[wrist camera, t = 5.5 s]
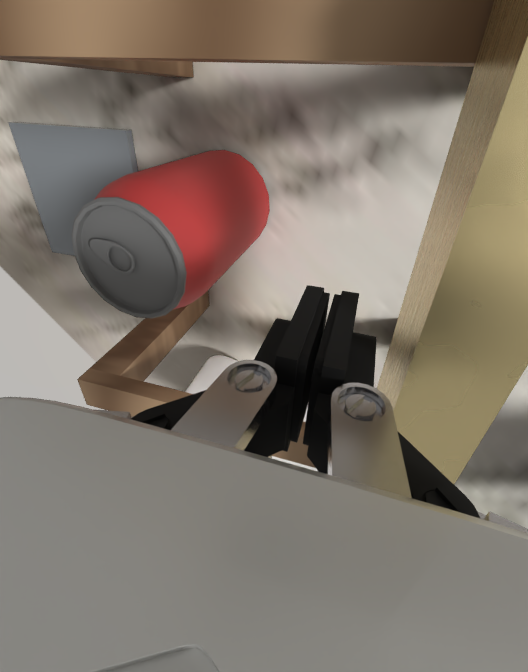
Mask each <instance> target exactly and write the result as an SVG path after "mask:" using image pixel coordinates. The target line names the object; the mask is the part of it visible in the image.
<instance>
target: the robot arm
mask: <svg viewBox="0 0 528 672" xmlns="http://www.w3.org/2000/svg"><path fill="white" fill-rule="evenodd" d="M329 295H330V293H324V288H321V287H315V286H308V285H307V287H306V289H305V292H304V294H303V296H302V298H301V300H300V302H299V305H298V307H297V309H296V311H295V313H294V316H293V318H292V320H291V321H288V320H283V319H278V318H277V319H276V320H275V321H274V323H273V325H272V327H271V329H270V331H269V333H268V335H267V337H266V338H265V340H264V342H263V344H262V346H261V348H260V350H259V352H258V354H257V355H256V357H255V359H254V360H243V361H238V362H235V363H233V364H231V365H230V366H228V367H227V368H226V369H225V370H224V371H223V372H222V373H221V374H220V375H219V377H218V378H217V379H216V380H215V381H214V382H213V383H212V384H211V385H210V387H209V388H208V389H207V390H204V391H201V392H198V393H195V394H192V395H189V396H186V397H183V398H180V399H177V400H174V401H171V402H168V403H165V404H162V405H159V406H156V407H152V408H149V409H146V410H144V411H142V412H140V413H138V414H136V415H135V416H131V414H130V412H124V411H107V410H92V409H88V408H84V407H80V406H75V405H71V404H66V403H61V402H57V401H50V400H43V399H36V398H21V397H3V398H0V672H528V529H527V528H525V527H522V526H520V525H518V524H516V523H514V522H512V521H509V520H507V519H505V518H503V517H501V516H499V515H497V514H494V513H492V512H490V511H489V513H488V514H487V515H484V514H482V513H480V512H478V511H477V510H476V509H475V507H474V505H473V504H472V503H471V502H470V500H469V499H468V498H467V497H466V496H465V495H464V494H463V493H462V492H461V491H460V490H459V489H458V488H457V487H456V486H455V485H454V484H453V483H452V482H451V481H450V480H449V479H447V478H446V477H445V476H444V475H443V474H442V473H441V472H440V471H439V470H438V469H437V468H436V467H435V466H434V465H433V464H432V463H431V462H430V461H429V460H428V459H427V458H425V457H424V456H423V455H422V454H421V453H420V452H419V451H418V450H417V449H416V448H415V447H414V446H413V445H412V444H411V443H410V442H409V441H408V440H407V439H406V438H405V437H404V436H402V435H401V434H400V433H399V432H398V431H397V427H396V422H395V417H394V413H393V408H392V405H391V403H390V400H389V399H388V398H387V397H386V396H385V394H384V393H382V392H381V391H379V390H378V389H377V388H374V387H373V386H374V370H375V354H376V337H375V336H370V335H364V334H359V333H353V327H354V322H355V316H356V310H357V304H358V298H359V293H352V292H346V291H342V294H341V295H337V294H335V295H334V298H333V302H332V305H331V309H330V312H329V315H328V319H327V322H326V315H327V309H328V302H329ZM325 322H326V326H325ZM324 328H325V329H324ZM308 402H309V403H308ZM307 405H308V410H307V417H306V424H305V430H304V437H303V444H304V445H308V451H307V457H308V458H309V459H310V461H311V462H312V463H313V465H314V466H315V468H316V469H317V471H314V470H311V469H307V468H304V467H300V466H297V465H293V464H289V463H286V462H282V461H279V460H275V459H272V455H273V454H275V453H277V452H280V451H286V452H288V448H289V445H290V441H293V442H296V443H297V441H298V438H299V434H300V431H301V427H302V424H303V420H304V416H305V413H306V409H307Z"/></svg>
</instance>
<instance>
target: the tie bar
mask: <svg viewBox="0 0 528 672" xmlns="http://www.w3.org/2000/svg"><path fill="white" fill-rule="evenodd" d="M527 365H528V0H494V3H493V7H492V10H491V13H490V17H489V20H488V23H487V27H486V30H485V33H484V36H483V40H482V43H481V46H480V50H479V53H478V56H477V60H476V63H475V66H474V69H473V73H472V76H471V79H470V83H469V86H468V89H467V93H466V96H465V99H464V102H463V106H462V109H461V112H460V116H459V119H458V122H457V126H456V129H455V132H454V136H453V139H452V142H451V145H450V149H449V152H448V155H447V159H446V162H445V165H444V169H443V172H442V175H441V178H440V182H439V185H438V188H437V192H436V195H435V198H434V202H433V205H432V208H431V211H430V215H429V218H428V221H427V225H426V228H425V231H424V235H423V238H422V241H421V245H420V248H419V251H418V254H417V258H416V261H415V264H414V268H413V271H412V274H411V278H410V281H409V284H408V287H407V291H406V294H405V297H404V301H403V304H402V307H401V311H400V314H399V317H398V320H397V324H396V327H395V330H394V334H393V337H392V340H391V344H390V347H389V350H388V354H387V357H386V360H385V363H384V367H383V370H382V373H381V377H380V380H379V383H378V387H377V389H378V390H379V391H381V392H382V393H384V394H385V396H386V397H387V398H388V399H389V400H390V403H391V405H392V408H393V413H394V417H395V422H396V427H397V431H398V432H399V433H400V434H401V435H402V436H404V437H405V438H406V439H407V440H408V441H409V442H410V443H411V444H412V445H413V446H414V447H415V448H416V449H417V450H418V451H419V452H420V453H421V454H422V455H423V456H424V457H425V458H427V459H428V460H429V461H430V462H431V463H432V464H433V465H434V466H435V467H436V468H437V469H438V470H439V471H440V472H441V473H442V474H443V475H444V476H445V477H446V478H447V479H449V480H450V481H451V482H452V483H453V484H455V482H456V481H457V479H458V477H459V476H460V474H461V472H462V471H463V469H464V468H465V466H466V464H467V463H468V461H469V459H470V458H471V456H472V455H473V453H474V451H475V450H476V448H477V446H478V445H479V443H480V442H481V440H482V438H483V437H484V435H485V433H486V432H487V430H488V429H489V427H490V425H491V424H492V422H493V420H494V419H495V417H496V416H497V414H498V412H499V411H500V409H501V407H502V406H503V404H504V403H505V401H506V399H507V398H508V396H509V394H510V393H511V391H512V390H513V388H514V386H515V385H516V383H517V381H518V380H519V378H520V377H521V375H522V373H523V372H524V370H525V368H526V367H527Z"/></svg>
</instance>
